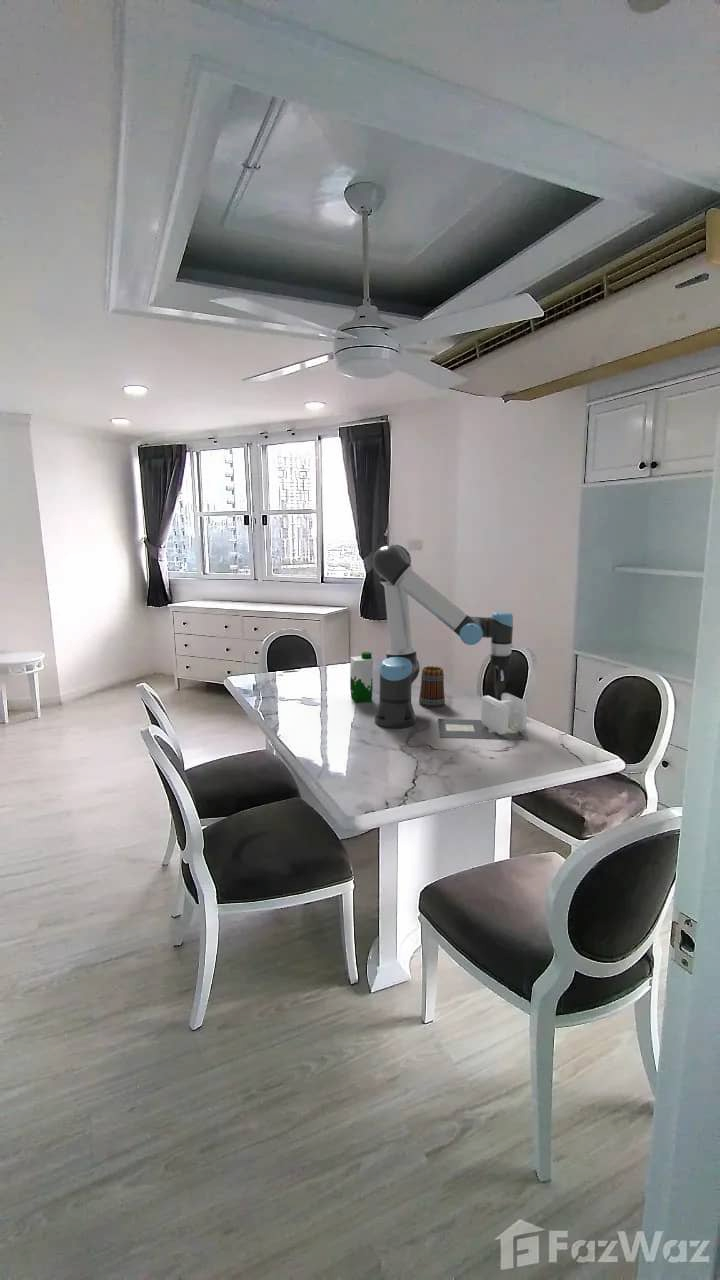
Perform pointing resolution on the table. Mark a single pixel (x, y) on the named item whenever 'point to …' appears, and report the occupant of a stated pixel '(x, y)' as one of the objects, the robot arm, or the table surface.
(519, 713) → the cable organizer
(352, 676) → the milk carton
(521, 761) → the table surface
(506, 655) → the robot arm
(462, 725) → the panel
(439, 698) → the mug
